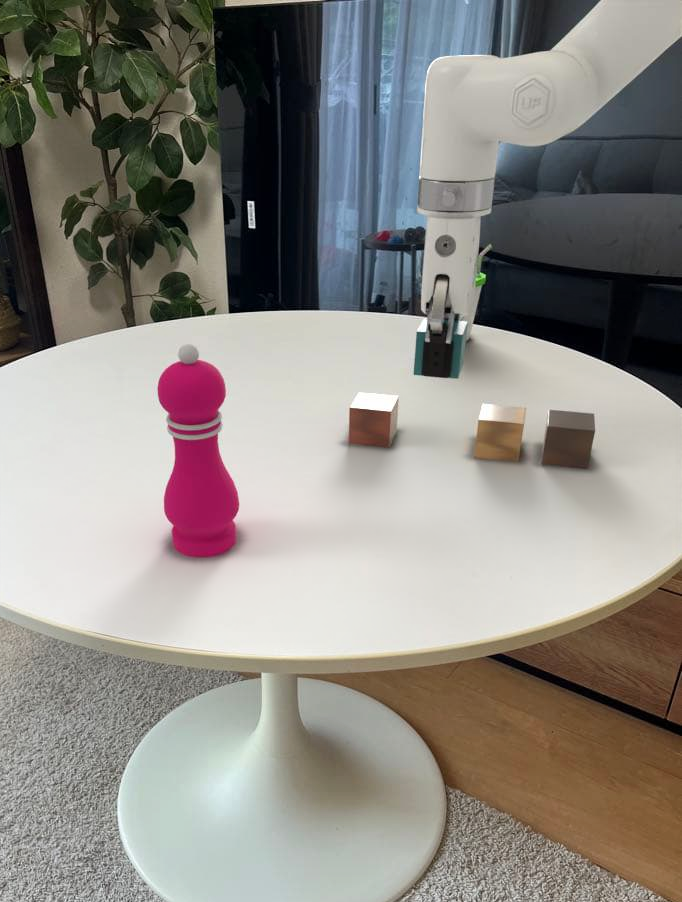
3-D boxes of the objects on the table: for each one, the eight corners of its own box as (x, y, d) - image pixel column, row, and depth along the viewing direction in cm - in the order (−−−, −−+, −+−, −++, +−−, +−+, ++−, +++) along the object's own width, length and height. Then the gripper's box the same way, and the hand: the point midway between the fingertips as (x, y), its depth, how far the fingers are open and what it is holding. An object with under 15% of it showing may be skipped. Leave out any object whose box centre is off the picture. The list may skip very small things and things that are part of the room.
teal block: (463, 364, 92) (467, 321, 89) (458, 379, 88) (462, 334, 85) (420, 360, 93) (423, 318, 90) (413, 375, 89) (416, 331, 86)
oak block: (520, 446, 95) (526, 407, 92) (518, 464, 91) (524, 424, 88) (477, 442, 96) (482, 403, 93) (473, 459, 92) (478, 419, 89)
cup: (423, 342, 129) (429, 246, 121) (443, 329, 134) (450, 237, 127) (468, 350, 125) (478, 251, 117) (486, 336, 131) (497, 242, 123)
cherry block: (396, 433, 99) (398, 395, 96) (389, 450, 95) (391, 411, 92) (357, 429, 100) (358, 392, 97) (348, 445, 96) (349, 407, 93)
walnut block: (586, 453, 93) (594, 413, 90) (587, 471, 89) (595, 430, 86) (542, 448, 94) (548, 409, 91) (540, 466, 90) (547, 426, 87)
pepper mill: (248, 526, 80) (238, 332, 70) (232, 565, 74) (218, 359, 64) (180, 521, 81) (160, 330, 71) (158, 559, 75) (133, 356, 65)
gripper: (484, 212, 73) (464, 397, 82) (499, 185, 86) (479, 347, 96) (404, 209, 75) (393, 391, 84) (430, 183, 88) (418, 342, 98)
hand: (439, 366), depth 90 cm, fingers closed on teal block, 5 cm apart
